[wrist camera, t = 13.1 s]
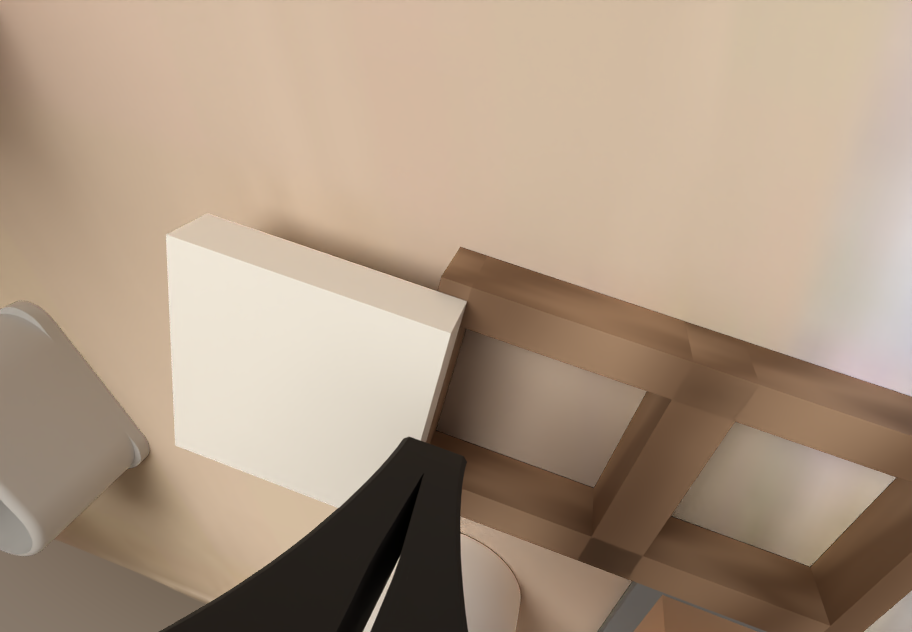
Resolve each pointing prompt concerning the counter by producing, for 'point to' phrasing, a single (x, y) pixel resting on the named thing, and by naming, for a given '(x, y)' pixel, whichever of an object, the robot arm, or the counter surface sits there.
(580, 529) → the wooden grid frame
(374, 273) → the cover
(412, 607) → the robot arm
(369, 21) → the counter surface
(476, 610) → the cup
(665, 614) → the block
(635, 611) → the pad
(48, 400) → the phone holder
